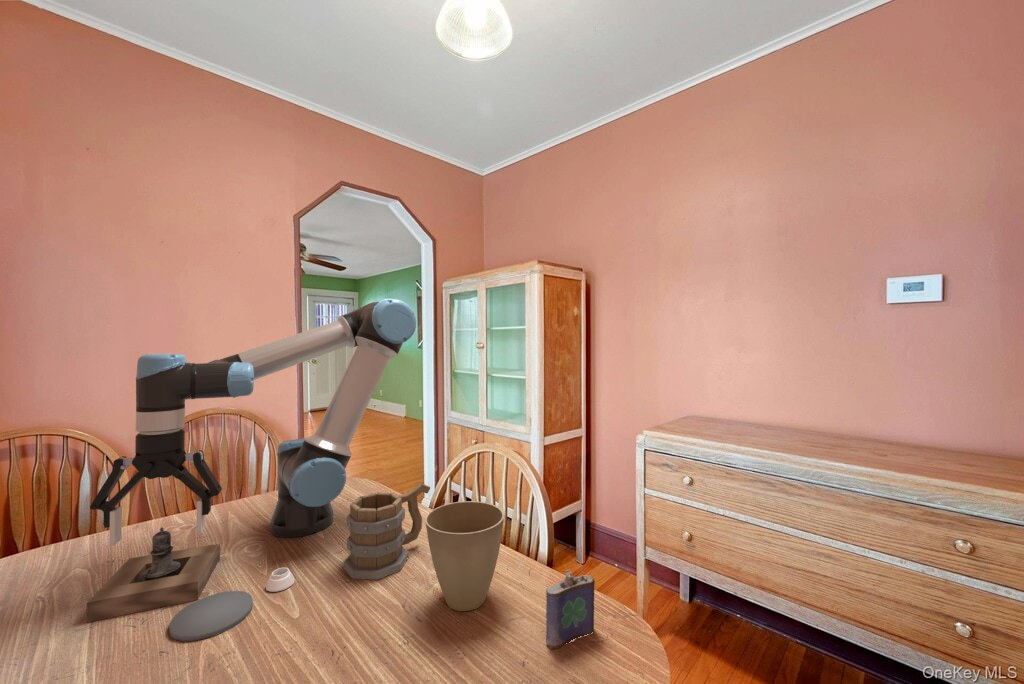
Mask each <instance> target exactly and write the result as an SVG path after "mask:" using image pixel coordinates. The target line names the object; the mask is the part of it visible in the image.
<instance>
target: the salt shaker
mask: <svg viewBox="0 0 1024 684" xmlns="http://www.w3.org/2000/svg"><path fill="white" fill-rule="evenodd" d="M173 549H174V546H172V534H171V532H170V531H168V530H164V527H160V528H159V531H158V532H156V533H155V534H154V535H153V536H152V550H151V551H150V552H149V555H152V565H151V567H150V568H149V569H147V570H146V571H144V572H143V574H142V576H143V577H144V578H145V581H148V580H154V579H159V578H165V577H170V576H176V575H177V572H178V570H179V567H180V565H181V564H180V563H179V562H177V561H172V558H171V552H172V550H173Z"/></svg>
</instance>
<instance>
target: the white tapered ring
mask: <svg viewBox="0 0 1024 684" xmlns="http://www.w3.org/2000/svg"><path fill="white" fill-rule="evenodd" d="M295 579H296V578H295V577H294V575H293V573H292V572H291V571H290V569H289V568H288V567H279V568H277V569H275V570H273V571H272V572H271V575H270V576H269V578H268V580H267V582H266V584H265V590H266V591H268V592H271V593H272V592H273V593H274V592H275V593H276V592H281V591H285V590H286V589H288V588H291V586H293V585H294V583H295V581H296V580H295Z"/></svg>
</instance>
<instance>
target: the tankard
mask: <svg viewBox="0 0 1024 684" xmlns="http://www.w3.org/2000/svg"><path fill="white" fill-rule="evenodd" d="M430 490H431V487H430V486H429V485H427V484H424V483H421V482H419V483H418V484H416V486H414V487H413V488H411V490H409V491H408V492H406V493H403V494H399V495H397V494H396V493H394V492H374V493H369V494H364V495H361V496H358V497H357V498H356V499H354V501H352V503H351V502H350V505H349V506H350V507H349V508H350V509H349V513H348V515H346V526H347V528H348V529H349V531H350V532H349V536H348V538H346V549H347V550H348V551H349V555H348V556H347V558H345V559H344V561H343V563H342V565H343V567H342V568H343V569H344V570H345V572H346V574H348V575H349V577H350V578H351V579H353V580H365V579H369V581H377V580H380V579H383V578H385V576H386V577H388V576H391V575H393V574H395V572H396V573H398V572H400V571H401V570H402V569H403V567H404V565H405V564H406V562H407V560H408V559H407V558H409V550H407V549H406V548H405V547H404V546H405V545H408V544H410V543H411V542H412V543H413V541H415V540H417V539H418V537H419V536H420V535H419V534H420V532H421V530H422V528H423V516H422V514H421V512H420V509H419V505H418V504H419V502H418V497H419V496H420V494H421V493H422V492H423V493H425V494H429V491H430ZM406 502H407V509H408V513H409V515H410V517H411V520H412V523H411V524H412V526H411V529H410V531H409V532H407V533H406V530H405V529H404V528H403V521H404V520H405V519H406V508H404V507H403V504H404V503H406ZM405 561H406V562H405ZM404 563H405V564H404ZM401 568H402V569H401ZM399 570H400V571H399ZM397 571H398V572H397ZM392 573H393V574H392ZM390 574H391V575H390ZM387 575H388V576H387Z"/></svg>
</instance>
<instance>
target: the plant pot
mask: <svg viewBox="0 0 1024 684" xmlns="http://www.w3.org/2000/svg"><path fill="white" fill-rule="evenodd" d="M424 520H425V521H424V522H425V528H426V535H427V541H428V546H429V551H430V556H431V560H432V564H433V568H434V571H435V574H436V577H437V581H438V584H439V586H440V587H439V588H440V590H441V592H442V595H443V597H444V600H445V602H446V604H447V606H448V607H450V609H452V610H455V611H458V612H469V611H474V610H476V609H478V608H480V607H481V606H482V605H483V604H484V603H485V600H486V598H487V595H488V592H489V590H490V587H491V584H492V581H493V578H494V574H495V569H496V567H497V562H498V558H499V554H500V547H501V543H502V542H501V541H502V536H503V527H504V521H505V512H504V511H503V509H502V508H500V507H499V506H498V505H495V504H492V503H488V502H484V501H474V500H473V501H472V500H471V501H469V500H467V501H456V502H450V503H446V504H442V505H440V506H438V507H435V508H434V509H432V510H431V511H429V512H428V514H426V516H425V518H424ZM479 606H480V607H479ZM473 609H474V610H473Z"/></svg>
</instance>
